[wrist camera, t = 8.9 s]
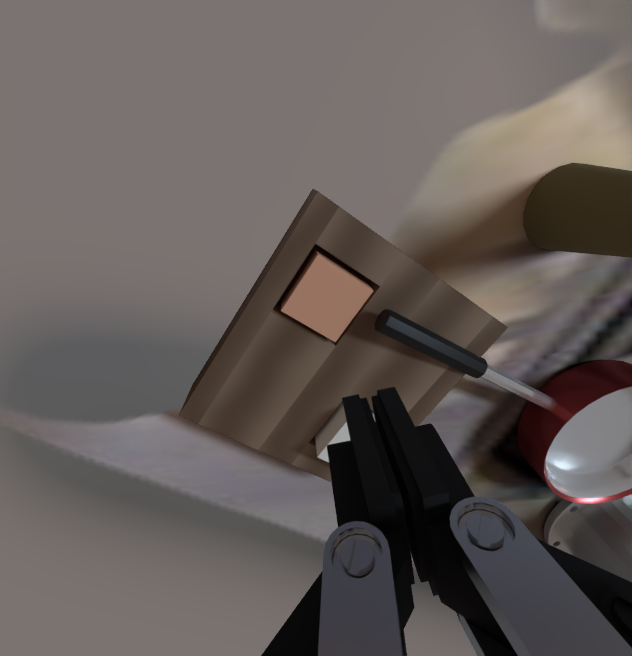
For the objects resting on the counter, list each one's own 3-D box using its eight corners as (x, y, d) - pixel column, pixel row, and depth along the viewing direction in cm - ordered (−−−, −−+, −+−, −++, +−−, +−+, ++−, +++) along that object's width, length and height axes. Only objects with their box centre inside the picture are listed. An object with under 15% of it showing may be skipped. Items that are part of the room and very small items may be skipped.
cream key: (386, 415, 28) (396, 440, 25) (355, 450, 29) (362, 477, 27) (344, 393, 27) (350, 416, 24) (314, 430, 28) (317, 457, 26)
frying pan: (312, 384, 30) (319, 435, 24) (388, 243, 25) (418, 263, 20) (582, 481, 37) (637, 537, 32) (676, 385, 33) (759, 429, 27)
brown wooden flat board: (478, 307, 28) (507, 327, 24) (348, 458, 33) (356, 493, 30) (312, 188, 23) (317, 191, 20) (192, 385, 29) (178, 415, 25)
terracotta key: (363, 278, 25) (373, 290, 22) (330, 325, 26) (335, 342, 23) (314, 245, 23) (318, 254, 21) (281, 296, 25) (280, 310, 22)
